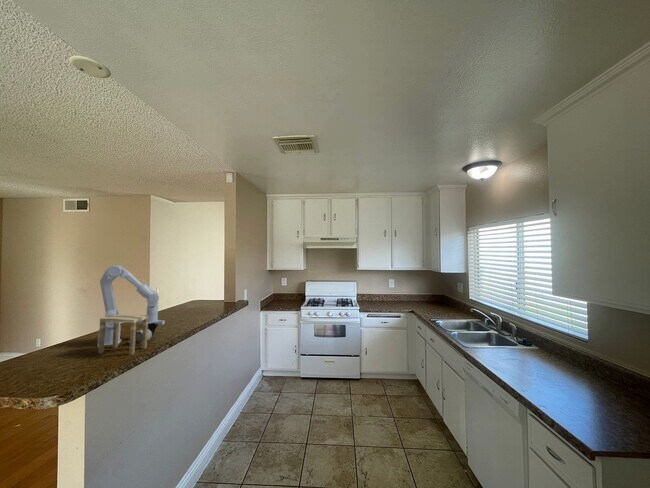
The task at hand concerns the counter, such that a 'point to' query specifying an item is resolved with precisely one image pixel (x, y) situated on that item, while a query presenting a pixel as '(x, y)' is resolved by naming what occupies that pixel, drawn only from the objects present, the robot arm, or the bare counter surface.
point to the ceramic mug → (139, 336)
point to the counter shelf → (116, 320)
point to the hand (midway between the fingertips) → (150, 336)
